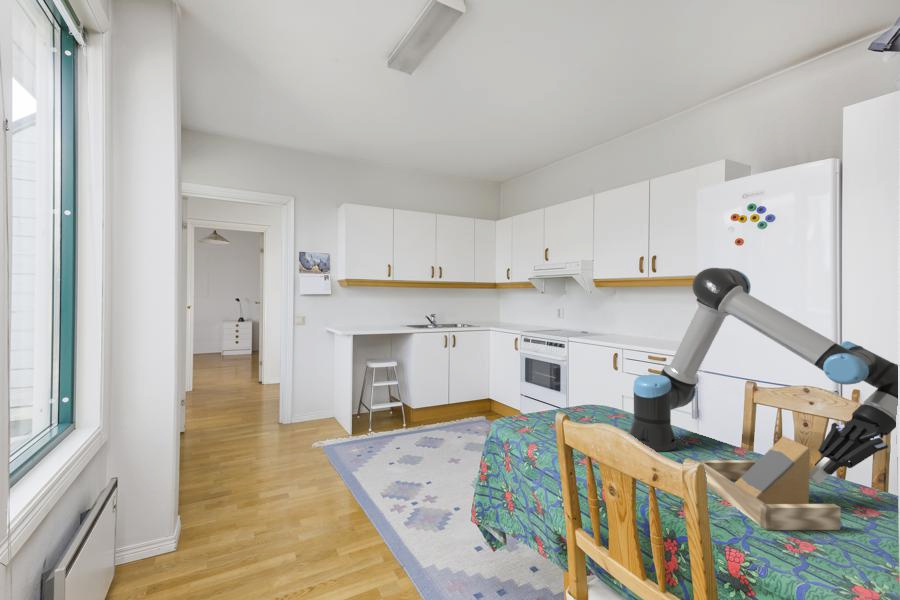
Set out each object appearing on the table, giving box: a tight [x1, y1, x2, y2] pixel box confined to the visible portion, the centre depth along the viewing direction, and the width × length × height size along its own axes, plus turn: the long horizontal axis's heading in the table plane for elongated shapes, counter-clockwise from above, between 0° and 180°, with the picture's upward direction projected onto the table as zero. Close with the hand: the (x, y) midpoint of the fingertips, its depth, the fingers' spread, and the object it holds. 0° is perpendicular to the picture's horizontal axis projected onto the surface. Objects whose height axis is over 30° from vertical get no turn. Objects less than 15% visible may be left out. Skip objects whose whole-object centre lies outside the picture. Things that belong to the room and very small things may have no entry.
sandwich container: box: [734, 435, 811, 504], centre depth 106 cm, size 9×15×15 cm, turn 88°
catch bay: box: [695, 459, 842, 531], centre depth 105 cm, size 17×26×5 cm, turn 0°
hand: (812, 479), depth 105 cm, fingers closed
